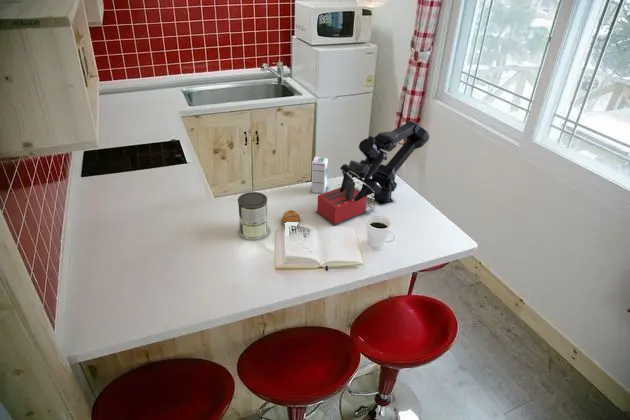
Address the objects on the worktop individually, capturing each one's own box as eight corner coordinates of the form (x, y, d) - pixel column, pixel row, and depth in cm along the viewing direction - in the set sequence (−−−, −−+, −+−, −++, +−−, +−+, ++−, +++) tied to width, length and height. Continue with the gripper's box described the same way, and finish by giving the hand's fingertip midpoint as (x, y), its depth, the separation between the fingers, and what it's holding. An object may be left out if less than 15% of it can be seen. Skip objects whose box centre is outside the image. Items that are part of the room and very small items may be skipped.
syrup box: (324, 193, 187) (325, 163, 180) (310, 192, 188) (311, 161, 180) (326, 187, 192) (328, 157, 184) (313, 185, 193) (314, 155, 185)
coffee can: (234, 231, 162) (231, 198, 154) (256, 220, 168) (255, 188, 161) (251, 243, 156) (249, 210, 148) (273, 232, 162) (273, 199, 155)
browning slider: (349, 195, 170) (350, 179, 167) (353, 198, 168) (355, 182, 165) (344, 197, 169) (345, 181, 165) (348, 200, 167) (350, 184, 163)
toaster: (347, 200, 183) (349, 183, 179) (366, 213, 176) (368, 195, 171) (316, 212, 175) (317, 195, 170) (334, 225, 167) (335, 207, 163)
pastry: (301, 230, 163) (301, 222, 161) (283, 231, 163) (283, 223, 161) (299, 217, 171) (299, 208, 169) (281, 218, 171) (281, 209, 168)
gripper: (345, 144, 168) (321, 177, 168) (379, 162, 155) (353, 198, 155) (359, 158, 176) (336, 189, 176) (392, 176, 164) (367, 210, 164)
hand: (347, 196), depth 168 cm, fingers open, 8 cm apart
